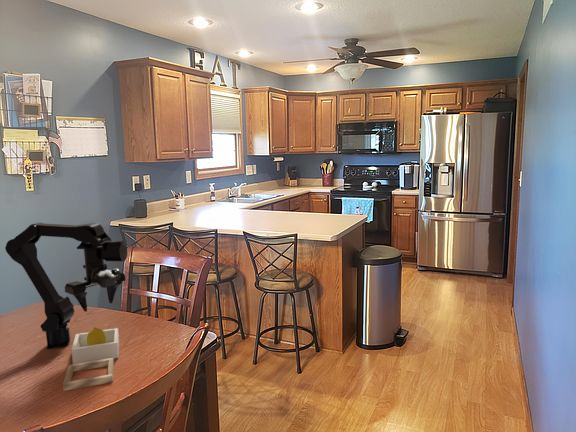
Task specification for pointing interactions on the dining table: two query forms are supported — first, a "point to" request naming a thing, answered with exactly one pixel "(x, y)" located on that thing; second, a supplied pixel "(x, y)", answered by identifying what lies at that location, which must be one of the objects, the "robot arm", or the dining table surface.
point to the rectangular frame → (89, 381)
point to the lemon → (95, 337)
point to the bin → (95, 347)
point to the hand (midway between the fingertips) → (98, 307)
